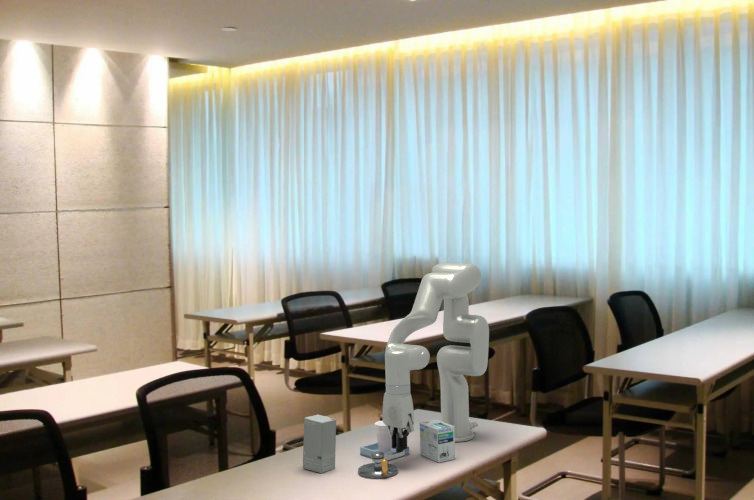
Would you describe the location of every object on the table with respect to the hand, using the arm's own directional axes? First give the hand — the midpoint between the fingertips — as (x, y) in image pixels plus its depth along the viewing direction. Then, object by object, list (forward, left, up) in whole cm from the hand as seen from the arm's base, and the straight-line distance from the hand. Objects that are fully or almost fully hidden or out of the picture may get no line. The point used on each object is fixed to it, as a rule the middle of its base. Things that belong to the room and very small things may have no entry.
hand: (399, 447), depth 248 cm
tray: (-4, -12, -5) cm, 13 cm away
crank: (+5, 0, -2) cm, 5 cm away
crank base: (+9, 0, -5) cm, 11 cm away
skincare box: (+19, -16, -6) cm, 25 cm away
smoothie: (-4, -11, -5) cm, 13 cm away
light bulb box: (-14, +2, -6) cm, 15 cm away
